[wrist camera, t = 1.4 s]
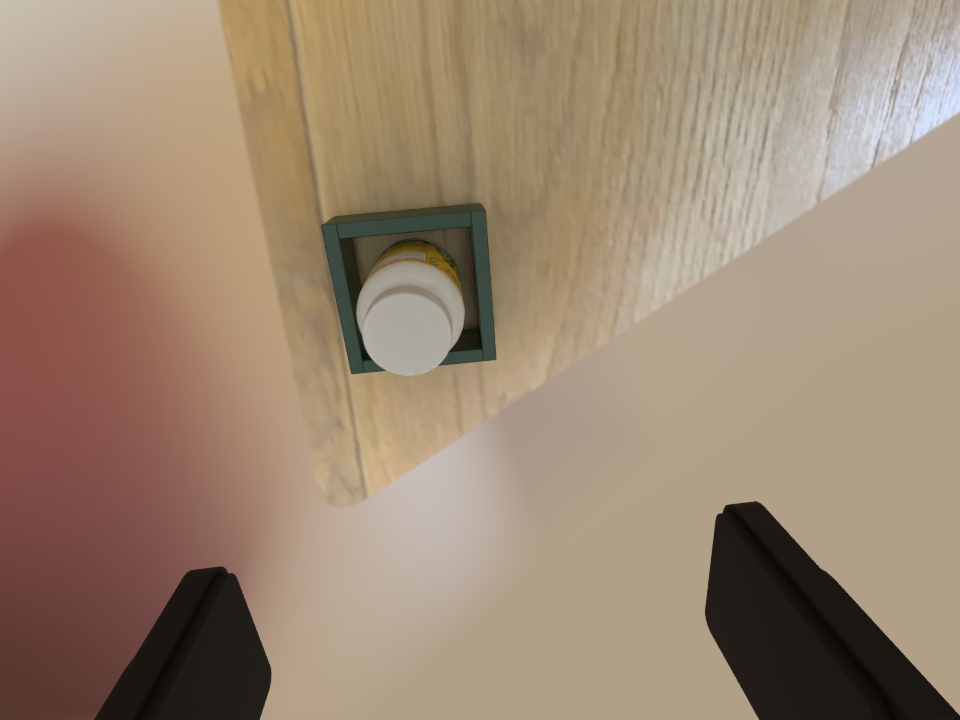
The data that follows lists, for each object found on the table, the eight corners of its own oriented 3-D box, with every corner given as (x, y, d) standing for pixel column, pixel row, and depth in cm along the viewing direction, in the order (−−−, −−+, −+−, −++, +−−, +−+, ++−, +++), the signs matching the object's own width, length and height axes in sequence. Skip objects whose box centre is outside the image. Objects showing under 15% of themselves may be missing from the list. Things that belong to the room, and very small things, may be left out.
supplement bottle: (364, 244, 30) (331, 285, 21) (453, 230, 30) (457, 266, 21) (384, 328, 32) (361, 397, 23) (466, 315, 32) (475, 380, 23)
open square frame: (334, 216, 29) (320, 224, 26) (481, 203, 29) (485, 209, 26) (360, 352, 32) (351, 374, 29) (491, 339, 33) (496, 360, 29)
